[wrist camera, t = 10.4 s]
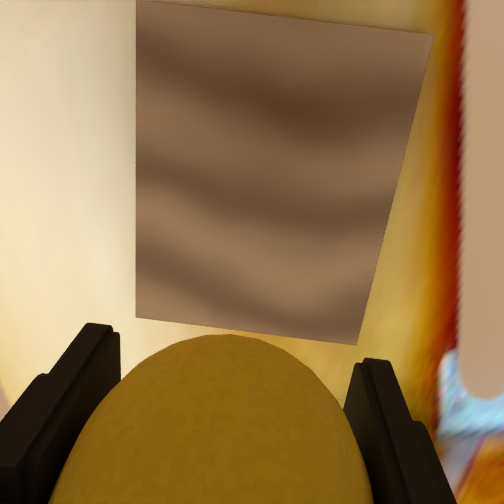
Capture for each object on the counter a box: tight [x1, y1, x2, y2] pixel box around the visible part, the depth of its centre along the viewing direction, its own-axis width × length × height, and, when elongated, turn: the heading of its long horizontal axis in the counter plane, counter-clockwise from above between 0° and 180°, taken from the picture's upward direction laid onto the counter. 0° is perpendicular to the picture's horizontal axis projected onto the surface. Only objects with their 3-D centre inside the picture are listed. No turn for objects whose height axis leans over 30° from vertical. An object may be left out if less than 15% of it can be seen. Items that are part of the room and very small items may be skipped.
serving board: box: [136, 0, 434, 345], centre depth 27 cm, size 20×16×2 cm
